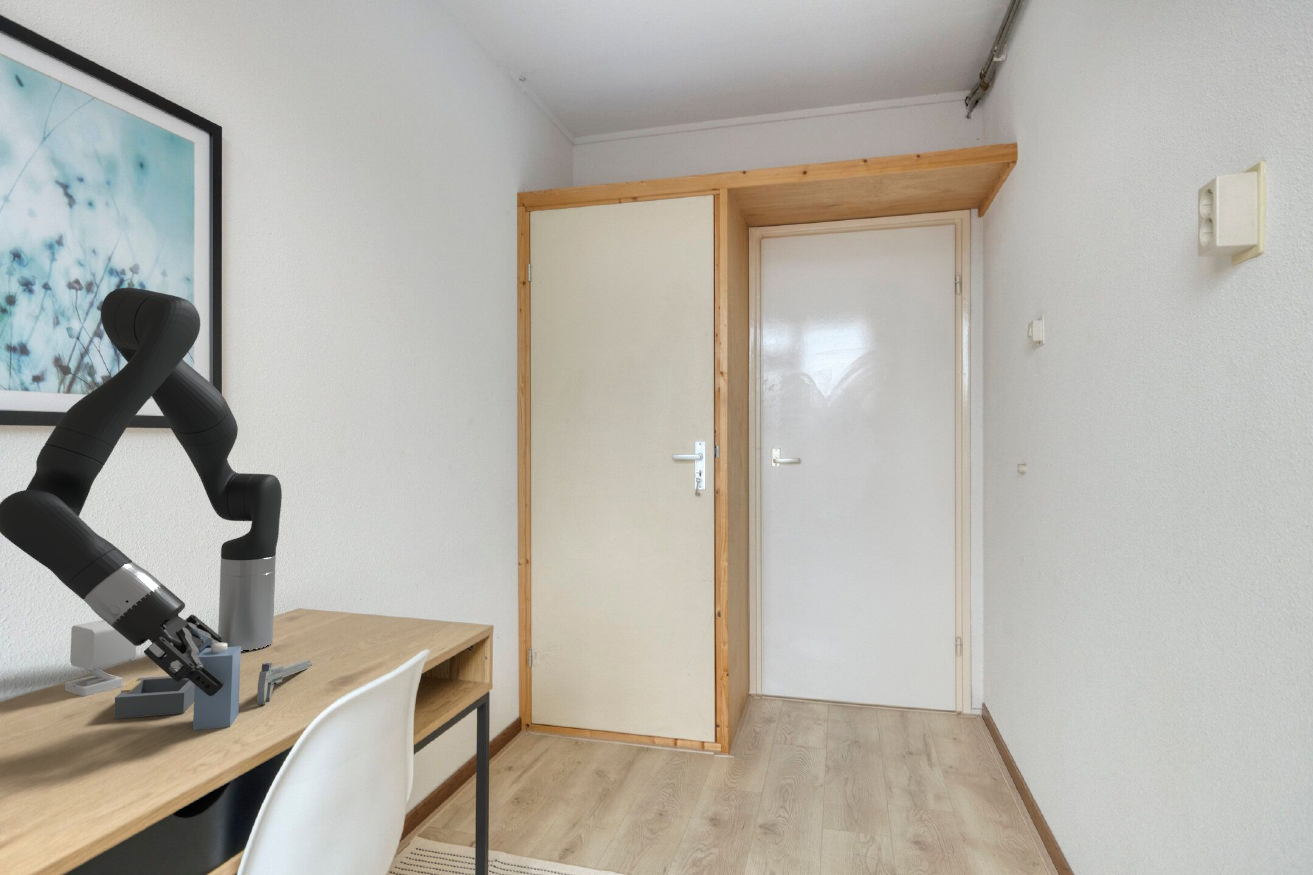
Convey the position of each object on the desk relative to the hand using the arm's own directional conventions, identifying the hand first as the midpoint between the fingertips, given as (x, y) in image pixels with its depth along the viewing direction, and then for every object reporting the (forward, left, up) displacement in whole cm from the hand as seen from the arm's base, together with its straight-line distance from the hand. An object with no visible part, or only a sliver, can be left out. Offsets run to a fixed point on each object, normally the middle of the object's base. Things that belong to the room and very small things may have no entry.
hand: (227, 680), depth 100 cm
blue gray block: (-1, -1, -6) cm, 6 cm away
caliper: (-12, +11, -6) cm, 17 cm away
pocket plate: (-12, -6, -6) cm, 15 cm away
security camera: (-28, -12, -6) cm, 31 cm away
